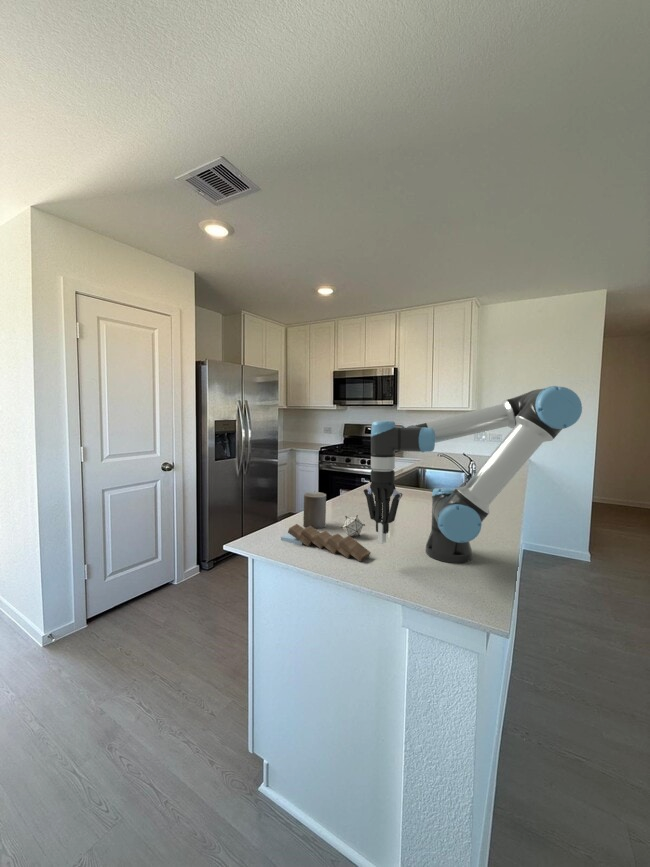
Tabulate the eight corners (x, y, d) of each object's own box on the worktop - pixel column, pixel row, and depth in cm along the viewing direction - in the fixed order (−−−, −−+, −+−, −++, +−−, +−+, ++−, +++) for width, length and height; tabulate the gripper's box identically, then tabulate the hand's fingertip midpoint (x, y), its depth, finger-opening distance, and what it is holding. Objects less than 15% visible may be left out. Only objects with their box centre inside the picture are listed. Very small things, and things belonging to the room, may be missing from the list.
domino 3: (330, 540, 132) (310, 525, 136) (323, 544, 128) (302, 529, 132) (328, 544, 133) (308, 529, 137) (321, 549, 128) (301, 533, 133)
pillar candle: (300, 528, 151) (300, 492, 150) (306, 521, 161) (307, 488, 160) (322, 530, 149) (323, 494, 148) (328, 523, 158) (328, 489, 157)
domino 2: (316, 537, 134) (296, 523, 138) (310, 542, 130) (289, 528, 133) (315, 541, 135) (294, 528, 138) (308, 546, 130) (287, 532, 134)
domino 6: (370, 552, 121) (349, 535, 126) (362, 557, 117) (340, 539, 122) (368, 557, 121) (347, 540, 127) (360, 561, 117) (338, 544, 122)
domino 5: (358, 549, 124) (337, 533, 129) (349, 553, 120) (328, 537, 125) (356, 553, 124) (336, 538, 130) (347, 558, 120) (326, 541, 126)
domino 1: (309, 537, 136) (289, 532, 141) (301, 541, 132) (280, 536, 137) (309, 542, 136) (288, 537, 141) (301, 546, 132) (280, 541, 137)
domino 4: (345, 545, 127) (325, 530, 133) (336, 549, 123) (316, 534, 129) (343, 550, 127) (324, 535, 133) (334, 554, 123) (314, 538, 129)
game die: (356, 546, 141) (363, 531, 135) (336, 537, 142) (342, 522, 136) (362, 529, 148) (369, 514, 141) (343, 521, 149) (349, 506, 143)
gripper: (406, 470, 113) (406, 543, 114) (370, 466, 121) (370, 535, 122) (396, 473, 107) (395, 550, 108) (358, 469, 115) (358, 541, 116)
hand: (382, 542), depth 115 cm, fingers closed
